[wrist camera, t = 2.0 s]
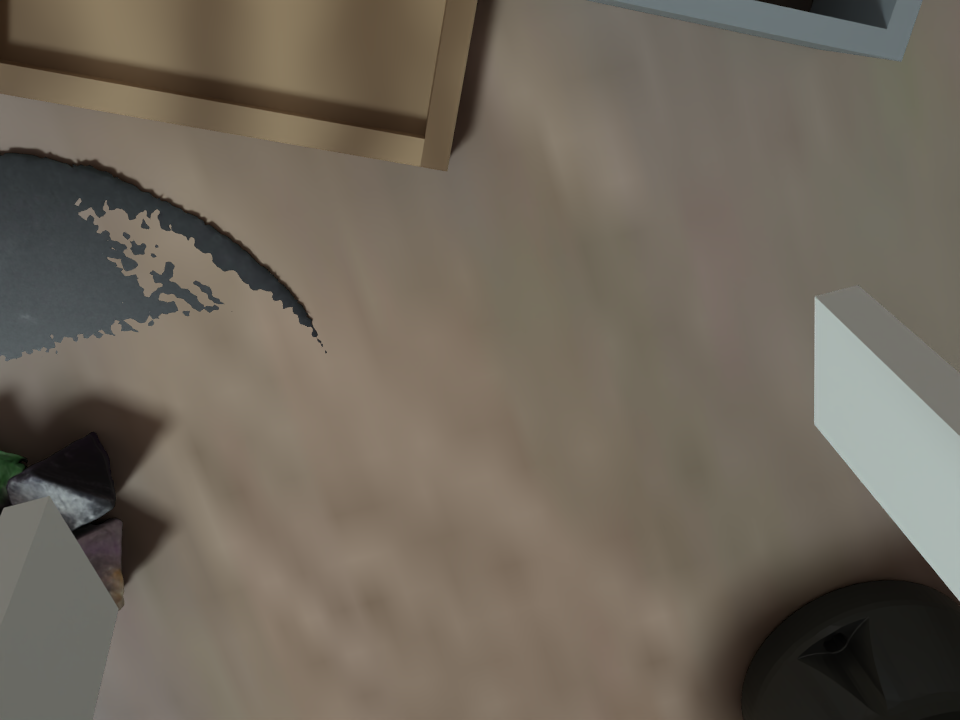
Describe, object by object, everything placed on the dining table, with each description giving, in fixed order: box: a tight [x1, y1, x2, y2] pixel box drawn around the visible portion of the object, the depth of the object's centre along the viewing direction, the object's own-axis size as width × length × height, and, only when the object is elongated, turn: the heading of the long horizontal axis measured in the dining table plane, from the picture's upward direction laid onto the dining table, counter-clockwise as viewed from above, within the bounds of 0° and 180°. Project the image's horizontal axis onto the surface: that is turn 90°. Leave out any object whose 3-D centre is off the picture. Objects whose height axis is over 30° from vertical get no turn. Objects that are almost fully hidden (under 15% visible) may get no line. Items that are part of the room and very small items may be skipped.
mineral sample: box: [0, 153, 327, 611], centre depth 43 cm, size 35×35×9 cm
